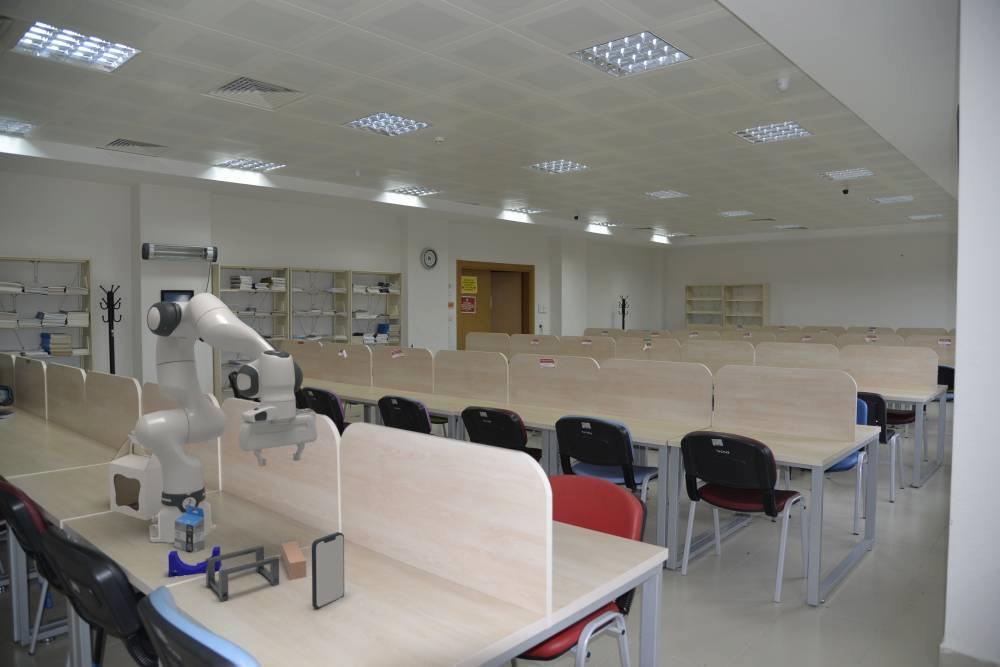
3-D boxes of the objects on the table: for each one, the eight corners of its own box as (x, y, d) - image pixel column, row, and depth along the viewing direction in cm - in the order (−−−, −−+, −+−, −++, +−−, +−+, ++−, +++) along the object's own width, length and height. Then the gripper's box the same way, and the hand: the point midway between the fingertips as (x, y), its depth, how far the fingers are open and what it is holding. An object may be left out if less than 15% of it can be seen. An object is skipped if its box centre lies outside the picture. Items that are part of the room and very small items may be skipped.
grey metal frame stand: (206, 586, 161) (205, 558, 161) (262, 571, 170) (261, 545, 170) (221, 602, 152) (221, 572, 152) (279, 585, 162) (278, 558, 161)
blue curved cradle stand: (221, 566, 174) (220, 544, 174) (218, 572, 170) (218, 550, 170) (172, 571, 171) (172, 549, 171) (168, 578, 167) (168, 555, 167)
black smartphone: (340, 595, 156) (340, 530, 155) (345, 597, 155) (344, 531, 155) (310, 608, 149) (310, 540, 148) (315, 610, 148) (314, 542, 147)
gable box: (109, 512, 221) (108, 431, 220) (147, 503, 232) (146, 426, 231) (146, 523, 209) (144, 438, 208) (184, 512, 221) (182, 431, 220)
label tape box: (173, 549, 186) (172, 507, 186) (186, 545, 190) (185, 504, 189) (192, 555, 182) (192, 512, 182) (205, 550, 185) (204, 508, 185)
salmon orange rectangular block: (281, 560, 178) (281, 543, 178) (296, 558, 180) (296, 540, 180) (290, 582, 164) (289, 563, 164) (306, 579, 166) (306, 560, 166)
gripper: (310, 406, 180) (311, 455, 180) (235, 414, 167) (237, 467, 167) (320, 408, 175) (321, 458, 175) (244, 416, 162) (245, 471, 162)
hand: (279, 463), depth 171 cm, fingers open, 8 cm apart
